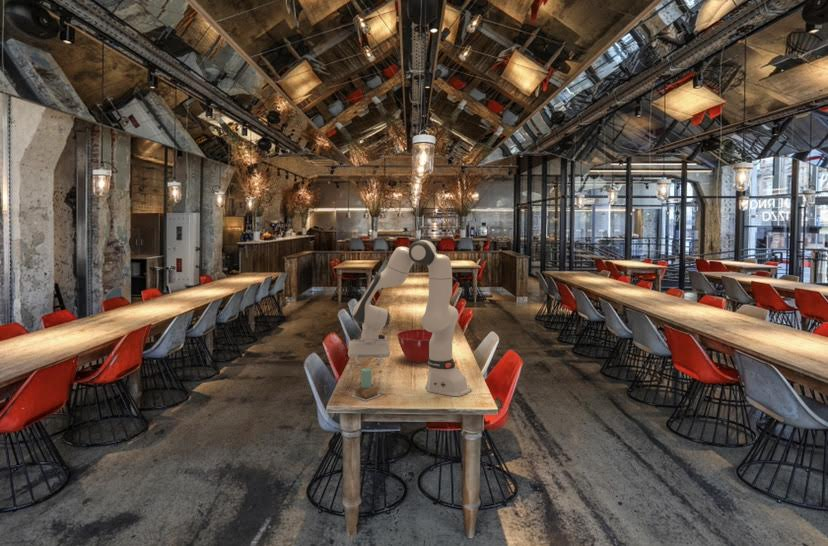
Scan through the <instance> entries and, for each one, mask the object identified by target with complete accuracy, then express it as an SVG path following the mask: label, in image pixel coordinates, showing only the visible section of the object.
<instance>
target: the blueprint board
mask: <svg viewBox="0 0 828 546" xmlns="http://www.w3.org/2000/svg"><path fill="white" fill-rule="evenodd" d="M383 396H385V394H383V393H381V392H377V395H376V396H373V397H371V398H368V399H364V398H361V397H358V396H356V395H355V393H351V394H349V395H348V397H349V398H351V399H352V398H353V399H356V400H358V401H362V402H365V403H368V402H370V401H372V400H376V399H378V398H381V397H383Z"/></svg>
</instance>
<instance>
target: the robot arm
mask: <svg viewBox="0 0 828 546" xmlns="http://www.w3.org/2000/svg"><path fill="white" fill-rule="evenodd" d="M415 263H416V264H418V265H422V266H424V267H427V269H428V297H427V303H426V307H425V312H424V314H423V316H422V317H421V325H422V327H423V329H425V330H427V331H428V332H433V333H432V337H431V339H430V342H429V358H428V363H427V365H428V374H427V380H426V385H425V388H426V392H430V393H434V394H440V395H445V396H450V397H454V398H455V397H461V395H462V396H465V395H467V394H469V393H471V392H472V391H471V390H473V388H472V386H469V385H468V382H467V378H466V376H465V374H463V373H462V372H461V371H460V370H459V369H458V367H456V364H457V363H458V362H457V360H455V361H454V358H453V343H454V342H453V341H454V335H455V331H456V325H457V322H458V320H459V315H460V314H459V310H458V309H457V308H456V307H455V306H453V305H450V300H451V298H452V297H453V296H452V295H453V269H452V262H451V259H450V257H449V256H447V255H446V254H442V253H438V251H437V247H436V245H435V243H433V242H432V241H431V240H427V239H420V240H416V241H414V242H413V243H412V244H411V245H410V247H406V246H398V247H396V248H395V249H394V251H393V252H392V254H391V256H390V257H389V260H388V262H387V264H386V266H385V268H384V269H383V271H381V272H379V273H376V274H375V276H373V278H372V280H371V281H370V282H369V284H368V286H367V288H365V291H364V292H363V294H362V296H360V299H359V300H358V301H357V302H356V304H355V305H354V307H353V310H352V312H351V316H352V319H353V321H355V323H358V324H362V325H361V327H362V328H361V329H362V331H361V335H360V339H352V340H349V341H348V345H347V347H348V349H347V350H348V351H347V355H348V357H349V358H350V359H355V361H356V366H361V360H359V358H360V359H364V358H365V359H374V358H378V360H376V366H380V365H381V362H382V361H383V359H384V358H385V359H386V358H387V359H388V358H390V357H391V350H390V343H389V339H388V336H387V335H385V334H381V333H380V331H382V330H383V329H385V328H387V327H388V325H389V324H390V320H391V315H390V312H389V310H388V309H385V308H382V307H380V306H375V305H373V304H370V302H371V300H372V299H373V297H374V296H375V294H376V293H377V291H379V290H381V289H385V288H395V287H399V286H402V285H403V284H404V283H405V281H406V280H407V278H408V275H409V273H410V270H411V268H412V266H413V265H414V264H415ZM470 391H471V392H470Z"/></svg>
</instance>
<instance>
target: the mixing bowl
mask: <svg viewBox="0 0 828 546" xmlns="http://www.w3.org/2000/svg"><path fill="white" fill-rule="evenodd" d="M432 333H433V332H428V331H427V330H425V329H424V328H417V329H408V330H403V331H399V332H398V333H397V334H396V336H397V339H398V343H399V346H400V349H401V351H402V353H403V354H404V357H405V358H406V359H407V360H408V361H410V362H412V363H416V364H428V358H429V342H430V339H431V337H432Z"/></svg>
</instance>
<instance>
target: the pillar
mask: <svg viewBox="0 0 828 546" xmlns="http://www.w3.org/2000/svg"><path fill="white" fill-rule="evenodd" d="M360 373H361V374H360V375H361V379H360V380H361V384H360V385H362V388H371V385H372V368H371V367H370V368H365V367H364V368H362V369H361V371H360Z"/></svg>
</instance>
